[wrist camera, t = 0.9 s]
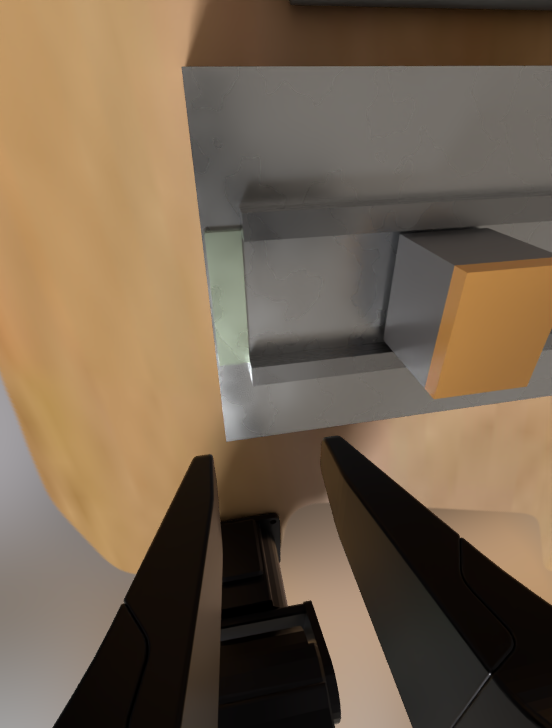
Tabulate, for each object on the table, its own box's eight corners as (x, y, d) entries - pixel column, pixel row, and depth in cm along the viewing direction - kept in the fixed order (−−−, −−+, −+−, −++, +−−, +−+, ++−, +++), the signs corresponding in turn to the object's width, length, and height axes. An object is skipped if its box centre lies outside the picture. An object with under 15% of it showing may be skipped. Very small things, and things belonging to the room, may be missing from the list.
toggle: (458, 331, 19) (526, 386, 15) (383, 339, 19) (433, 399, 15) (487, 227, 16) (579, 263, 13) (399, 233, 16) (467, 272, 12)
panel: (519, 368, 26) (566, 405, 23) (222, 406, 23) (227, 455, 20) (637, 72, 17) (742, 62, 14) (183, 74, 14) (180, 63, 11)
